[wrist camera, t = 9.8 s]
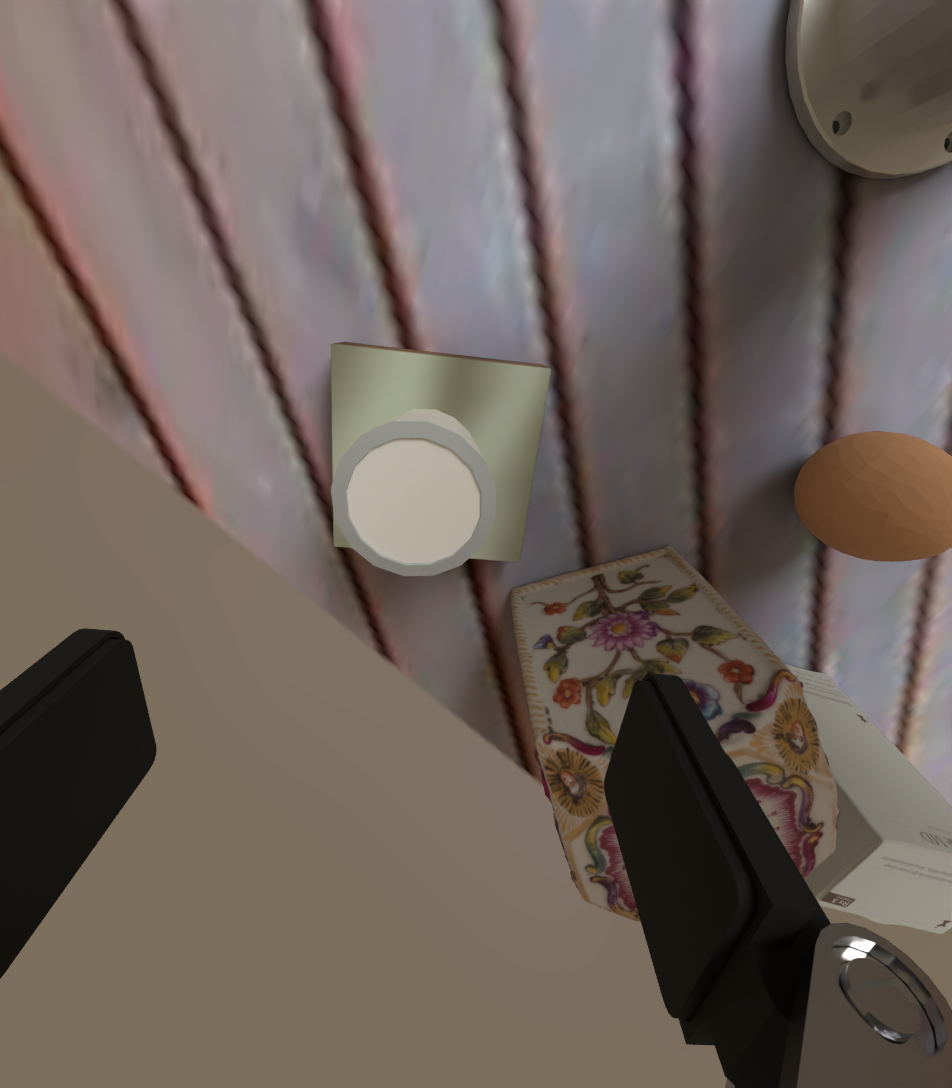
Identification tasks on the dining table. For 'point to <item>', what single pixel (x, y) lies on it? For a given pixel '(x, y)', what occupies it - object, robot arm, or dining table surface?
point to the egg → (878, 496)
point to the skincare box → (879, 822)
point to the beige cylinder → (415, 494)
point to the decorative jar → (673, 649)
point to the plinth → (459, 391)
